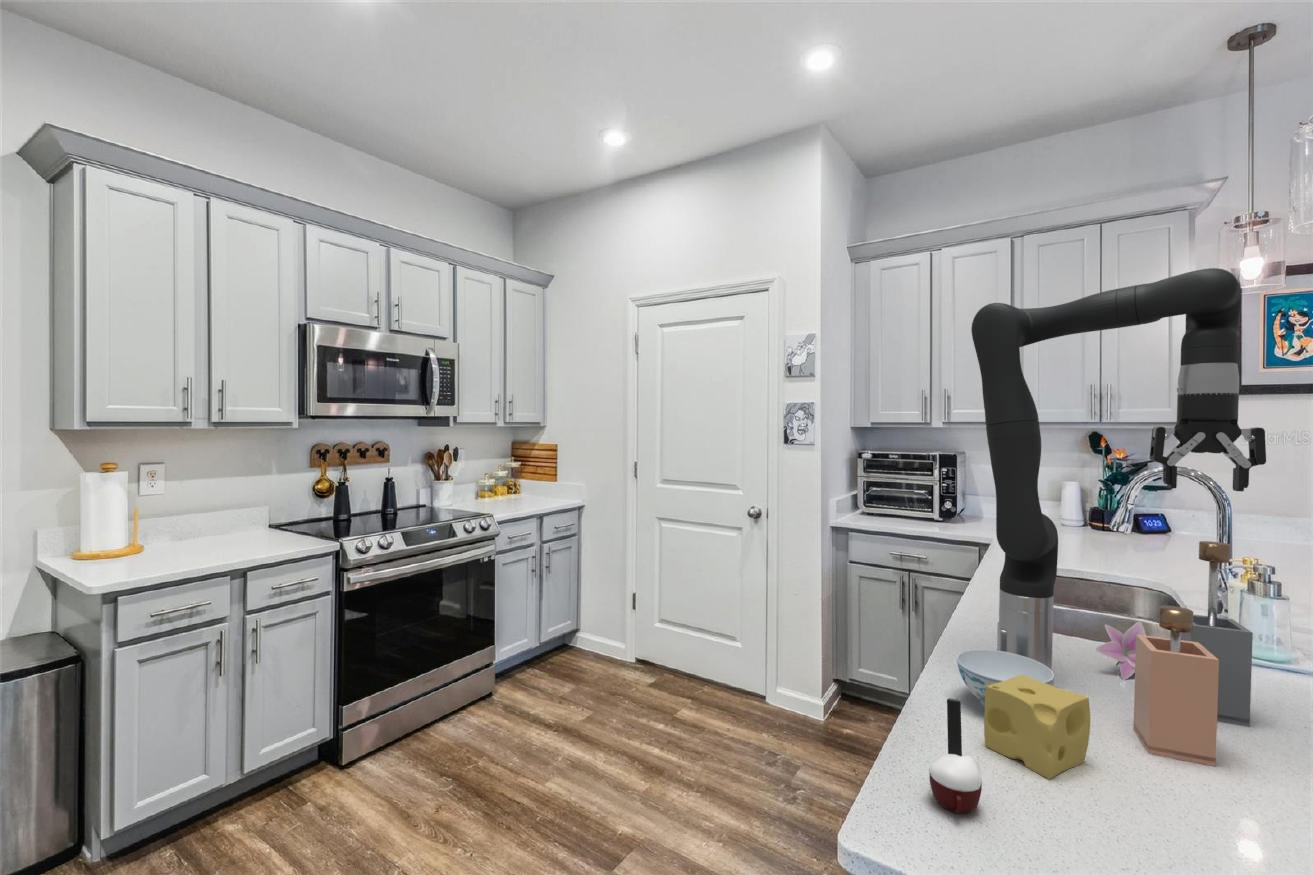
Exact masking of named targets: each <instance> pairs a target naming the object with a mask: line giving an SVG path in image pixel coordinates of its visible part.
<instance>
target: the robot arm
mask: <svg viewBox="0 0 1313 875" xmlns="http://www.w3.org/2000/svg"><path fill="white" fill-rule="evenodd" d="M1241 307H1242V287H1241V285H1240V282H1239V280H1238V279H1237V278H1236V276H1235V275H1234V274H1233V273H1232V272H1231V271H1228V270H1226V269H1223V268H1217V267H1216V268H1215V267H1211V268H1203V269H1198V270H1192V271H1189V272H1188V271H1187V272H1184V273H1180V274H1177V275H1174V276H1170V277H1166V278H1163V279H1160V280H1158V281H1154V282H1149V283H1141V284H1134V285H1130V286H1126V287H1119V288H1114V289H1109V290H1105V291H1101V292H1097V293H1093V294H1091V295H1087V296H1084V297H1082V298H1079V299H1076V300H1073V301H1068V302H1065V303H1061V304H1057V305H1051V306H1044V307H1032V308H1030V307H1029V308H1019V307H1015V306H1013V305H1011V304H1007V303H1004V302H993V303H991V302H990V303H988V304H985V305H984V306H982V307H981V308H980V309H979V310H977V312H976V313H975V315H974V317H973V320H972V323H971V329H970V330H971V336H972V340H973V342H972V343H973V345H974V349H975V353H976V357H977V362H978V365H979V370H980V376H981V386H982V398H983V399H982V400H983V409H984V410H983V411H984V420H985V431H986V439H987V445H988V450H989V457H990V458H989V459H990V464H991V471H992V476H993V477H992V478H993V482H994V489H995V496H996V497H995V500H996V502H995V503H996V504H995V505H996V506H995V510H996V511H995V512H996V513H995V514H996V517H995V519H996V520H995V522H996V523H995V526H996V530H995V531H996V534H995V535H996V539H997V543H998V546H999V547H1000V549H1001V550H1002V551H1003V553H1004V563H1003V567H1002V570H1001V573H1000V575H999V597H998V598H999V601H998V604H999V605H998V622H997V633H996V634H997V636H996V637H997V638H996V639H997V640H996V643H997V644H996V651H1003V652H1008V653H1013V654H1017V655H1021V656H1024V657H1027V658H1030V659H1033V660H1035V661H1038V662H1040V663H1042V664H1044V665H1045V666H1047V667H1048V668H1049V669H1051V670H1052V669H1053V641H1054V640H1053V637H1054V634H1053V632H1054V631H1053V630H1054V600H1055V599H1054V598H1055V597H1054V595H1055V594H1054V593H1055V591H1054V589H1055V583H1056V579H1057V575H1058V573H1057V572H1058V558H1059V557H1058V555H1059V533H1058V530H1057V526H1056V525H1055V523H1054V522H1053V520H1052V519H1051V518H1050V517H1049V516H1048V515H1046V514H1044V513H1043V512H1042V508H1041V503H1040V496H1039V490H1038V489H1039V488H1038V487H1039V486H1038V484H1039V476H1040V474H1039V473H1040V467H1041V458H1042V436H1041V429H1040V428H1041V427H1040V421H1039V414H1038V410H1037V406H1036V403H1035V400H1034V398H1033V395H1032V392H1031V390H1030V389H1029V388H1030V387H1029V385H1028V383H1027V381H1026V378H1025V376H1024V373H1023V369H1022V363H1021V354H1020V352H1021V350H1020V349H1021V348H1022V347H1025V346H1029V345H1032V344H1035V343H1040V342H1042V341H1046V340H1050V339H1056V338H1059V337H1064V336H1069V335H1076V334H1082V333H1083V334H1084V333H1089V332H1098V331H1106V330H1113V329H1120V328H1121V329H1122V328H1128V327H1134V326H1142V325H1146V324H1147V325H1148V324H1151V323H1155V322H1158V321H1160V320H1161V319H1164V318H1169V317H1176V316H1183V315H1185V331H1184V332H1185V333H1184V335H1183V336H1182V339H1181V344H1180V363H1179V364H1180V366H1179V373H1178V377H1177V386H1176V392H1177V395H1176V396H1177V397H1176V398H1177V400H1176V401H1177V402H1176V403H1177V404H1176V425H1175V426H1174V427H1172V428H1171V427H1164V426H1153V428H1152V429H1151V430H1152V431H1151V440H1150V447H1149V448H1150V449H1149V457H1148V458H1149V460H1150V461H1152V462H1155V463H1159V464H1161V465H1162V482H1163V484H1164V485H1167V488H1168V489H1177V485H1178V477H1177V476H1178V466H1176V465H1177V463H1179V462H1180V461H1181V460H1182V459H1183V458H1184V457H1186V456H1187V455H1188V454H1189V453H1193V454H1204V453H1209V454H1221V453H1222V454H1223V455H1224V456H1225V457H1227V459H1229V461H1230V462H1232V463H1233V465H1234V466H1235V467H1233V468H1232V491H1234V492H1245V489H1248V488H1249V485H1250V482H1249V481H1250V469H1251V468H1253V467H1256V466H1261V465H1262V466H1263V465H1265V464H1266V463H1267V450H1266V449H1267V448H1266V431H1265V428H1262V427H1249V428H1240V427H1239V424H1238V422H1239V398H1240V396H1239V395H1240V393H1239V392H1240V373H1239V366H1238V361H1239V360H1238V358H1239V339H1238V338H1239V337H1238V327H1239V320H1240V314H1241ZM1171 435H1173V436H1174V437H1175V438H1176V439H1177V440H1178V442H1179V443H1178V444H1176V446H1174V447H1173V448H1172V449H1171V451H1170V453H1168V454H1167V455H1166V456H1164V449H1165V441H1168V440H1169V439H1170V436H1171ZM1240 437H1243V439H1244V440H1245V441H1246V442H1248V455H1249V456H1248V458H1247V457H1246V456H1245V455H1244V453H1243V451H1242V450H1240V448H1238V446H1237V445H1236V444H1234V443H1235V442H1236V441H1237V440H1238V439H1239V438H1240ZM1052 671H1053V670H1052Z"/></svg>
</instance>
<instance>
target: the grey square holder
mask: <svg viewBox="0 0 1313 875" xmlns="http://www.w3.org/2000/svg"><path fill="white" fill-rule="evenodd" d="M1207 622H1208V615H1201V614H1200V615H1199V614H1193V632H1191V633H1183V632H1181V638H1180V640H1184V641H1192V642H1199V643H1200V644H1201V645H1202V646H1203V647H1204V648H1206V649H1207V650H1208V651H1209V652H1210V653H1211V654H1213V655H1214V656H1215V657H1216V658H1217V659H1218V660H1219V674H1218V707H1217V722H1219V723H1226V724H1232V725H1236V726H1242V727H1249V728H1250V726H1251V700H1252V698H1251V696H1252V695H1251V694H1252V670H1253V669H1252V666H1253V665H1252V662H1253V631H1251V630H1249V629H1248V628H1246V627H1245V626H1243V625H1242V624H1241V623H1239V622H1238V621H1236V620H1234V619H1233V618H1227V617H1221V616H1220V617H1219V616H1217V627H1213V626H1207Z"/></svg>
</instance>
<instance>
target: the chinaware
mask: <svg viewBox="0 0 1313 875" xmlns="http://www.w3.org/2000/svg"><path fill="white" fill-rule="evenodd" d="M956 663H957V668H958V671H959V673H960V676H961V679H962V680H963V683H964V685H965V686H966V688H967V689H968V690H969V691H970V692H971V693H972V694H973V695H974V696H975V697H976V698H977V699H978V700H979V701H981V702H980V703H981V706H982V705H983V706H982V707H983V708H984V709H985V691H986V686H988V685H991V684H995V683H999V682H1002V681H1005V680H1008V679H1010V678H1013V677H1016V676H1019V675H1025V676H1028V677H1030V678H1033V679H1035V680H1038V681H1040V682H1043V683H1046V684H1049V685H1051V686H1053V683H1054V678H1055V674H1054V672H1053V670H1051V669H1049V668H1048V667H1047V666H1045V665H1044V664H1042V663H1040V662H1038V661H1035V660H1033V659H1030V658H1027V657H1024V656H1021V655H1017V654H1013V653H1008V652H1003V651H997V649H996V650H995V649H981V648H980V649H969V650H965V651H961V652H960V653H958V654H957V656H956Z"/></svg>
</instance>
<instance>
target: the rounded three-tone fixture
mask: <svg viewBox="0 0 1313 875" xmlns="http://www.w3.org/2000/svg"><path fill="white" fill-rule="evenodd" d="M961 704H962V702H961V700H960V699H957V698H951V697H949V698H947V700H946V708H947V709H946V714H947V716H946V717H947V721H946V722H947V753H946V754H944V755H941V756H940V757H938V759H936V760H935V761H934V762H933V763H932V764H931V765H930V766H929V768H928V771H929V784H930V789H931V791H932V794H933V797H934V799H935V800H936V801H937V803H939V805H941V806H942V807H943V808H945V809H946V810H948V811H950V812H952V813H953V812H954V813H957V814H966V813H967V814H968V813H970V812H972V811H974V810H975V809H976V808H977V807H978V805H979V802H980V800H981V794H982V789H983V788H982V786H983V782H982V777H981V770H980V763H979V762H978V761H977V759H976V758H975V757H974V756H971V755H963V744H962V740H963V738H962V707H961V706H962V705H961Z"/></svg>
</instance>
